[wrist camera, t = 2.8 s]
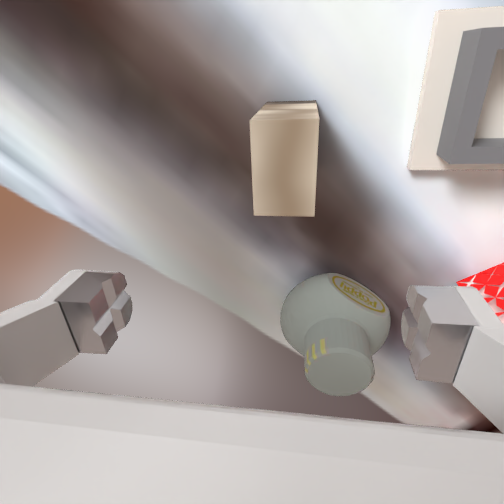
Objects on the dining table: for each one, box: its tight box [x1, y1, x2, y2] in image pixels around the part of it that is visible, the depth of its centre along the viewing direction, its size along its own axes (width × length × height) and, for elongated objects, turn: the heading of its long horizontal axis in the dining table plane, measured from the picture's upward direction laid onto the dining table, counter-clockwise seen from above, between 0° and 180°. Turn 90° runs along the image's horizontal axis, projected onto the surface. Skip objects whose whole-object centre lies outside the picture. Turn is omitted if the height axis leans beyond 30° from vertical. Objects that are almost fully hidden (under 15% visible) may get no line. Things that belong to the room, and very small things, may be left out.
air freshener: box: [280, 273, 391, 396], centre depth 33 cm, size 11×8×10 cm
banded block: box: [250, 100, 319, 217], centre depth 25 cm, size 4×6×10 cm, turn 2°
